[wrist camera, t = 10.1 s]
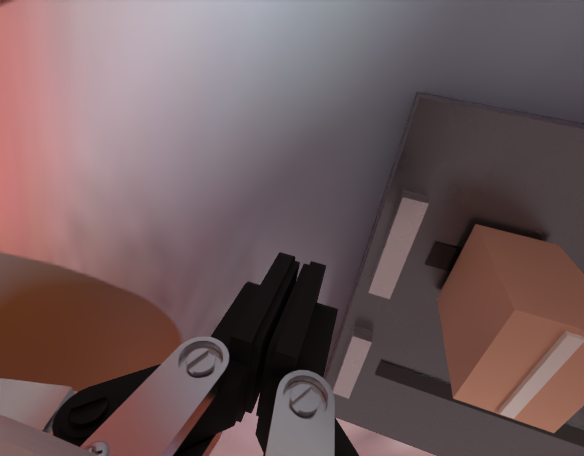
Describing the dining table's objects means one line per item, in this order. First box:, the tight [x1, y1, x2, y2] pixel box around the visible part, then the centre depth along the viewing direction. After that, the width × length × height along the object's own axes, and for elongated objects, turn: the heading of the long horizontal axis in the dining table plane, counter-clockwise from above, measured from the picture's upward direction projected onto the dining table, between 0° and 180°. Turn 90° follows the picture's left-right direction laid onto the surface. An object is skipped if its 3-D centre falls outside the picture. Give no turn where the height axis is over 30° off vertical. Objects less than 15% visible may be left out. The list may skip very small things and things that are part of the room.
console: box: [324, 92, 584, 456], centre depth 15 cm, size 20×22×3 cm
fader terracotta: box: [437, 224, 584, 433], centre depth 11 cm, size 4×3×5 cm
